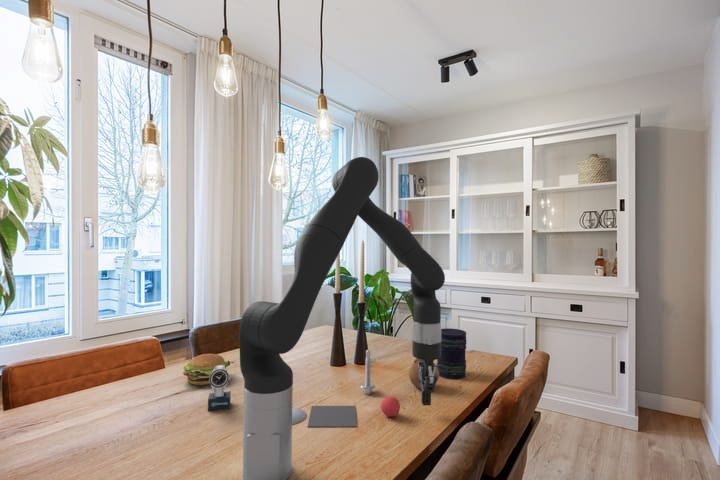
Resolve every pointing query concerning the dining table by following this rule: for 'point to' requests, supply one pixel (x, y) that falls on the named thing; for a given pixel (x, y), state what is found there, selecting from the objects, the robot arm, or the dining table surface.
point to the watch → (219, 389)
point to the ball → (390, 406)
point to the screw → (367, 376)
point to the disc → (297, 415)
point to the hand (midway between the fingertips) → (426, 404)
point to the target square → (332, 416)
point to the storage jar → (452, 354)
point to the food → (203, 368)
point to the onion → (415, 376)
